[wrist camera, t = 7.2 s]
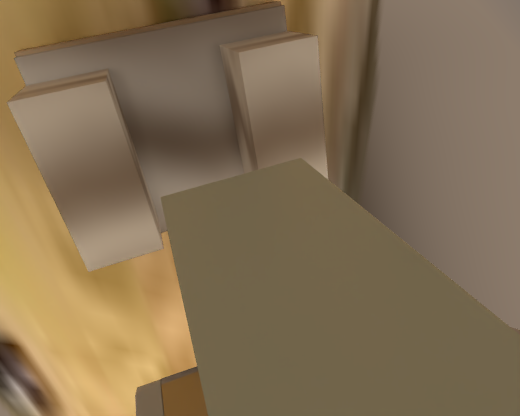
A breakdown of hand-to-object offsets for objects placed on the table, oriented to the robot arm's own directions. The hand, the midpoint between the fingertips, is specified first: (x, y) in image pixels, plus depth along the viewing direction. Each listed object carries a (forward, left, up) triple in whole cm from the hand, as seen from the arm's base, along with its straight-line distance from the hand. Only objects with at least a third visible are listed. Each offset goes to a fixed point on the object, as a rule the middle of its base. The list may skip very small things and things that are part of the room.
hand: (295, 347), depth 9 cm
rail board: (0, 0, -18) cm, 18 cm away
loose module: (0, 0, -4) cm, 4 cm away
